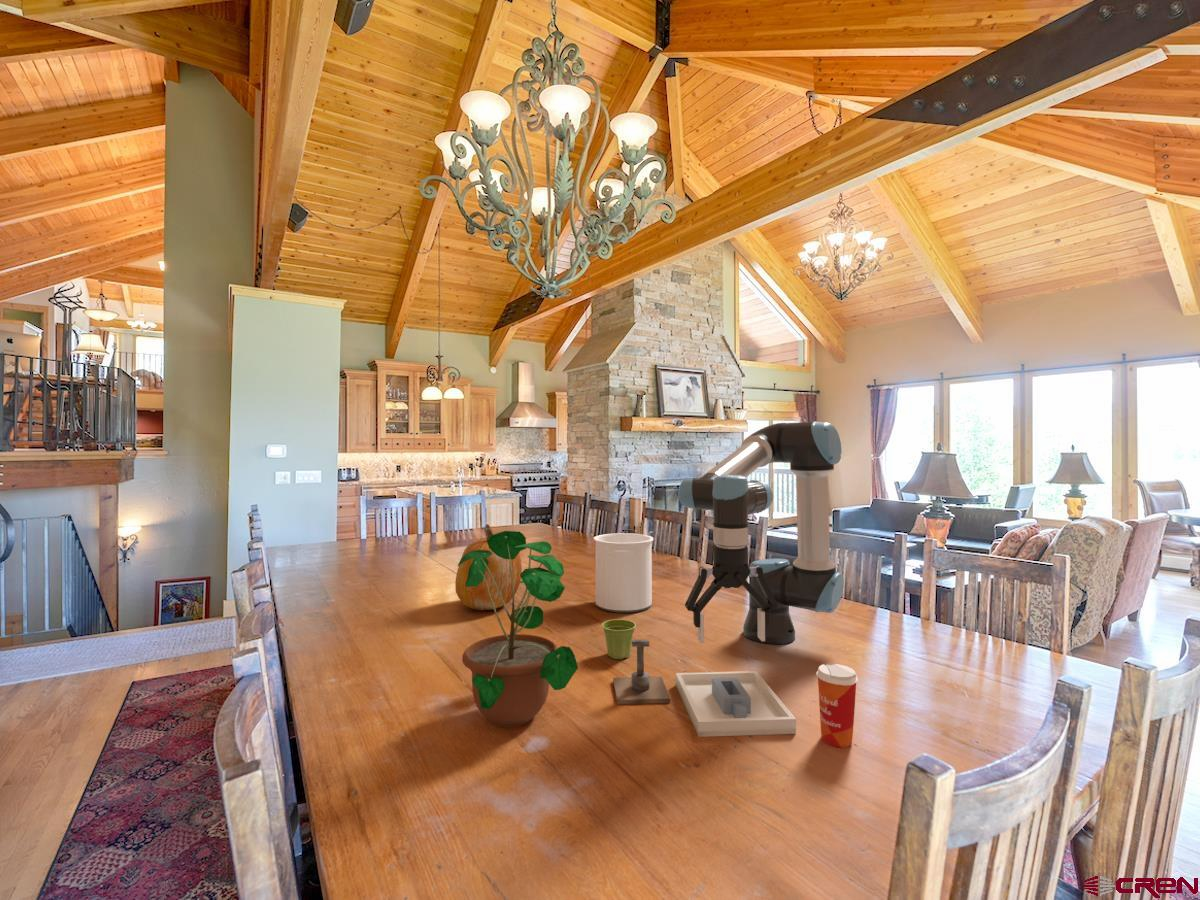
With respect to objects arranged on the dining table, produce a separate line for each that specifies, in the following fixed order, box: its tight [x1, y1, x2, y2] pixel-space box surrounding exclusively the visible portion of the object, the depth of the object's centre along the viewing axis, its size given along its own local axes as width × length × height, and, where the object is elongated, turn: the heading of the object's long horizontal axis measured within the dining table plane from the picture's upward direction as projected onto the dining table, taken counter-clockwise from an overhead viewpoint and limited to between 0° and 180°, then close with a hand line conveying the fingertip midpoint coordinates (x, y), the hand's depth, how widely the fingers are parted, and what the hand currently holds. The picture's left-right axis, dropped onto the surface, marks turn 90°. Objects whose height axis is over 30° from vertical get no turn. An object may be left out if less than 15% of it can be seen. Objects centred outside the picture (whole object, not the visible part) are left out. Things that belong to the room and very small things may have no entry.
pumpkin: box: [455, 524, 523, 611], centre depth 204 cm, size 26×23×30 cm
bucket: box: [593, 532, 654, 614], centre depth 205 cm, size 26×22×24 cm
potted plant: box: [457, 530, 579, 728], centre depth 123 cm, size 31×29×40 cm
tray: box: [675, 670, 797, 738], centre depth 126 cm, size 20×24×3 cm
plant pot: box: [601, 618, 637, 660], centre depth 157 cm, size 9×9×9 cm
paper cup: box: [815, 663, 859, 749], centre depth 112 cm, size 8×8×14 cm
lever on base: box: [612, 638, 671, 705], centre depth 134 cm, size 12×12×12 cm
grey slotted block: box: [712, 678, 751, 718], centre depth 125 cm, size 13×6×3 cm, turn 3°
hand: (731, 640), depth 126 cm, fingers open, 13 cm apart
